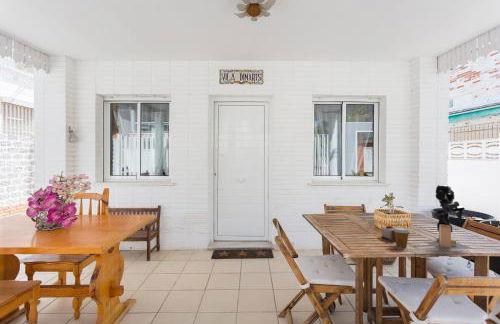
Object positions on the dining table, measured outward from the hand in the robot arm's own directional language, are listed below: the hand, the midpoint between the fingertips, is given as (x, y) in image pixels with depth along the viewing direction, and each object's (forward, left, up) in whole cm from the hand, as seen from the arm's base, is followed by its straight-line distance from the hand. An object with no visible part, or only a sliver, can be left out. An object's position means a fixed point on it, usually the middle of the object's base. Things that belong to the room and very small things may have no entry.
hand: (454, 223), depth 200 cm
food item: (-37, -17, -16) cm, 43 cm away
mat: (-4, -3, -16) cm, 16 cm away
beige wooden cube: (-1, -1, -16) cm, 16 cm away
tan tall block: (-4, -7, -15) cm, 17 cm away
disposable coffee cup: (-23, -29, -16) cm, 40 cm away
